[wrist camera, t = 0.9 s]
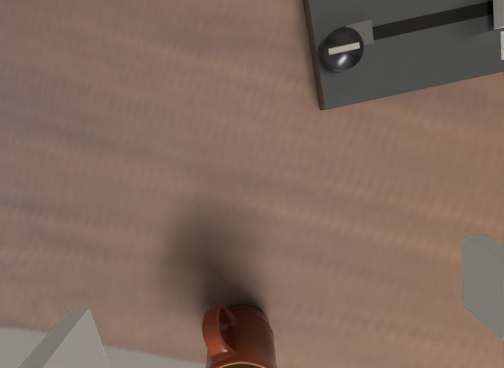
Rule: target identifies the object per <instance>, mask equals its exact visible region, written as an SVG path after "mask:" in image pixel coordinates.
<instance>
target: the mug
mask: <svg viewBox="0 0 504 368" xmlns="http://www.w3.org/2000/svg"><path fill="white" fill-rule="evenodd" d="M202 333H203V338H204V341H205V344H206V346H207V348H208V351H207V362H206V368H277V366H276V357H275V347H274V336H273V332H272V329H271V327H270V325H269V322H268V320H267V318H266V316H265V315H264V314H263V313H262V312H261V311H260V310H258V309H256V308H254V307H252V306H248V305H235V306H231V307H229V308H226V307H225V306H224V305H223V304H220V303H218V304H215V305H212V306H210V307H209V308H208V309H207V310H206V312H205V314H204V317H203V322H202Z"/></svg>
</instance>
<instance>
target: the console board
mask: <svg viewBox="0 0 504 368" xmlns="http://www.w3.org/2000/svg"><path fill="white" fill-rule="evenodd" d="M303 2H304V9H305V15H306V21H307V28H308V34H309V41H310V47H311V53H312V60H313V66H314V72H315V79H316V85H317V91H318V98H319V104H320V110H327V109H331V108H336V107H341V106H345V105H350V104H355V103H359V102H364V101H369V100H373V99H378V98H382V97H387V96H392V95H396V94H401V93H406V92H410V91H415V90H420V89H424V88H429V87H434V86H438V85H443V84H447V83H452V82H457V81H461V80H466V79H471V78H475V77H480V76H485V75H489V74H494V73H499V72H503V71H504V28H499V29H494V11H493V0H303Z"/></svg>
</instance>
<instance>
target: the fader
mask: <svg viewBox="0 0 504 368" xmlns="http://www.w3.org/2000/svg"><path fill="white" fill-rule="evenodd" d="M493 11H494V29H499V28H504V0H493Z"/></svg>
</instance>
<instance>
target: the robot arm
mask: <svg viewBox="0 0 504 368" xmlns="http://www.w3.org/2000/svg"><path fill="white" fill-rule="evenodd" d="M462 261H463V300H464V308H466V309H467V310H468V311H469V312H470V313H471V314H472V315H474V316H475V317H476V318H477V319H478V320H479V321H480V322H482V323H483V324H484V325H485V326H486V327H487V328H489V329H490V330H491V331H492V332H493V333H494V334H495V335H497V336H498V337H499V338H500V339H501V340H502V341H503V342H504V244H503V243H501V242H499V241H497V240H495V239H493V238H491V237H489V236H487V235H485V234H480V235H474V236H469V237H463V238H462ZM19 368H110V365H109V362H108V360H107V357H106V354H105V351H104V348H103V345H102V342H101V339H100V337H99V334H98V331H97V328H96V325H95V322H94V320H93V317H92V314H91V311H90V308H89V307H88V308H83V309H77V310H72V311H67V313H66V314H65V315H64V316H63V317H62V318H61V319H60V321H59V322H58V323H57V324H56V325H55V326H54V328H53V329H52V330H51V331H50V332H49V333H48V334H47V336H46V337H45V338H44V339H43V340H42V342H41V343H40V344H39V345H38V346H37V347H36V348H35V349H34V351H33V352H32V353H31V354H30V355H29V357H28V358H27V359H26V360H25V361H24V362H23V363H22V364H21V366H20V367H19Z"/></svg>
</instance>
